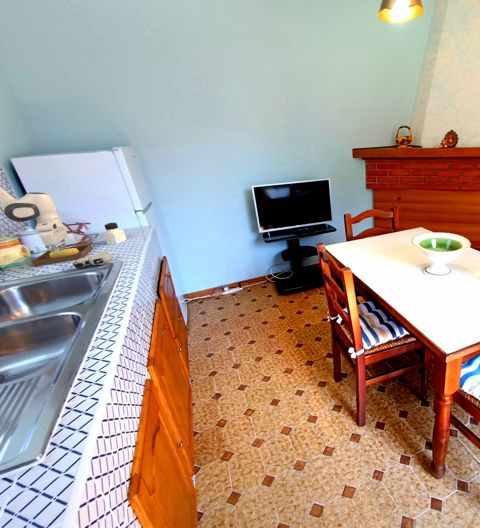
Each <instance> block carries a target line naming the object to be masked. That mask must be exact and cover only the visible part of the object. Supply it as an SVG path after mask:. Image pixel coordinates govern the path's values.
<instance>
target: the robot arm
mask: <svg viewBox="0 0 480 528" xmlns="http://www.w3.org/2000/svg"><path fill="white" fill-rule="evenodd" d="M0 210H1V212H2V214H3V215H4V216H5V217H6V218H7V219H9V220H11V221H13V222H17V223H25V222H28V221H31V220H34V219H35V221H36V226H35V231H36V232H38V234H39V237H40V239H41V241H42V242H43V245H44V246H45V247H50V248H52V250H54V251H55V253H57V252H60V249H63V248H67V243H66V238H68V236H69V235H68V232H67V230H66V228H65V226H64V224H63V221H62V218H61V217H60V215H59V214H58V212H57V207H56V204H55V203H54V201H53V198H52V197H51V195H49V194H48V193H45V192H35V191H33V192H32V191H31V192H27V193H26V194H25V195H23V196H22V197H20V198H15V197H14V196H12V195H11V194H9V192H7V191H6V190H5V189H4V188H2V187H0ZM59 243H60V247H61V248H60V247H59V246H58V244H59Z"/></svg>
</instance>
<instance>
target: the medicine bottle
mask: <svg viewBox="0 0 480 528" xmlns="http://www.w3.org/2000/svg"><path fill="white" fill-rule="evenodd" d="M103 226H104V229H105V232H103V233H102V234H103V237H104V239H105V242H106V244H107V245H118V244H121V243H123V242H126V241H127V236H126V234H125V231H124V229H119V225H118V223H117V222H108V223H105V224H104V225H103ZM125 240H126V241H125ZM122 241H123V242H122ZM120 242H121V243H120Z"/></svg>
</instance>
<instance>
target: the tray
mask: <svg viewBox="0 0 480 528" xmlns="http://www.w3.org/2000/svg"><path fill="white" fill-rule="evenodd" d="M70 248H76V249H78V251H79V253H78V254H75V255H68V256H62V257H56V258H51V257H50V256H49V253H50V252H52V251H54V249H51V250H47V251H45V252H43V253H42V254H40V255H39V256H37V257H36V258H35V259H33V260H31V263H32V265H33V267H34V268H35V267H36V268H37V267H42V266H48V265H49V266H50V265H55V264H61V263H66V262H72V261H77V260H78V259H80V258H84V257H87V255H88V254H89V253H90V252H91V251H92V250H93V245H92V244H84V245H77V246H69V247H64V248H59V249H60V250H63V249H70Z"/></svg>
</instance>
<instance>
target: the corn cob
mask: <svg viewBox="0 0 480 528" xmlns="http://www.w3.org/2000/svg"><path fill="white" fill-rule="evenodd" d="M69 248H70V247H69ZM62 249H63V248H62ZM78 253H79V251H78V249H76V248H70V249H63V250H60V252H57V253H55V251H52V252H50V253H49V256H50V257H51V258H56V257H62V256H68V255H75V254H78Z"/></svg>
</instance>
